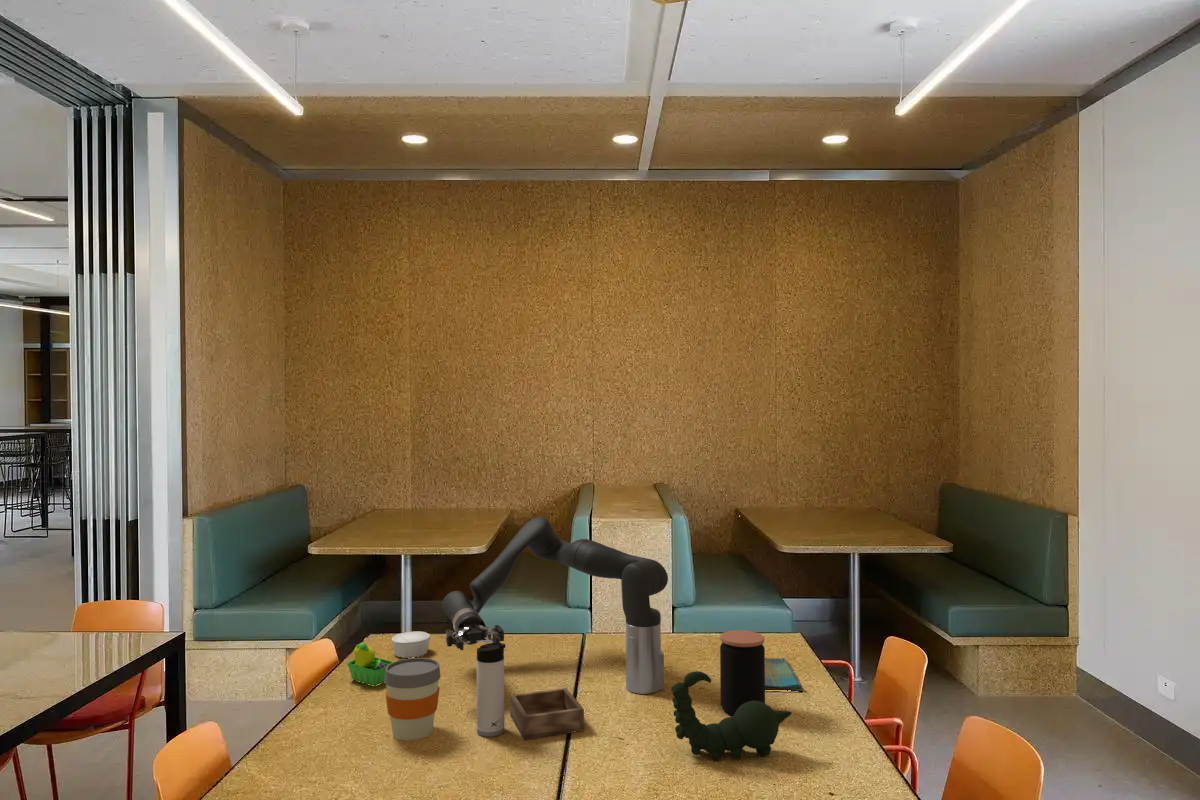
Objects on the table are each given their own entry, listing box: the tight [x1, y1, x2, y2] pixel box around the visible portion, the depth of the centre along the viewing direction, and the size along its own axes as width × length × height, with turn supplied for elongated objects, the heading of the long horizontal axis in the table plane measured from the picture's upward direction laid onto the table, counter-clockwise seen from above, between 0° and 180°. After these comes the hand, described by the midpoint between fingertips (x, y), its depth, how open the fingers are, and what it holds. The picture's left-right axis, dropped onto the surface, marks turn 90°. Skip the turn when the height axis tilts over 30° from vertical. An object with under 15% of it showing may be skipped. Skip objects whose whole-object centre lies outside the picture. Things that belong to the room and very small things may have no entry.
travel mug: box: [476, 642, 506, 738], centre depth 177 cm, size 6×7×20 cm
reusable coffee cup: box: [384, 657, 441, 741], centre depth 177 cm, size 13×13×15 cm
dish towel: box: [765, 657, 803, 691], centre depth 211 cm, size 17×23×2 cm
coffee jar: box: [719, 629, 766, 717], centre depth 188 cm, size 11×11×18 cm
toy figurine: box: [670, 670, 792, 761], centre depth 164 cm, size 9×19×25 cm
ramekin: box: [391, 631, 431, 659], centre depth 232 cm, size 11×11×5 cm
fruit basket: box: [346, 642, 394, 687], centre depth 209 cm, size 11×9×11 cm
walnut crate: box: [509, 687, 585, 741], centre depth 181 cm, size 14×14×5 cm
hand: (479, 644), depth 188 cm, fingers open, 8 cm apart
